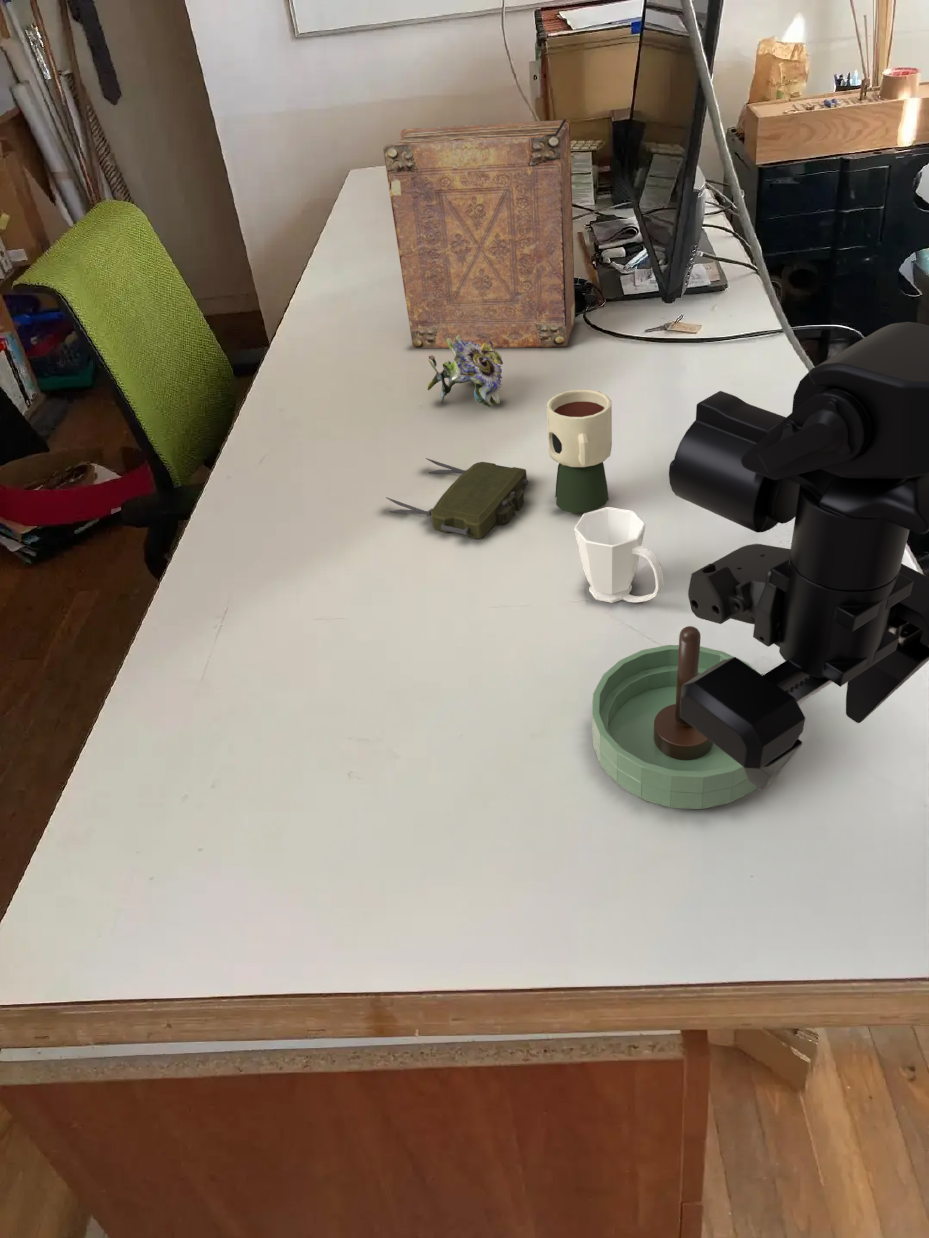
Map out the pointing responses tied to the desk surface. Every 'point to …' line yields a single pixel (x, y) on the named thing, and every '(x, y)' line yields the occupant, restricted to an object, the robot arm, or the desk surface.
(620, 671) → the bowl
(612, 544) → the cup
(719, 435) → the robot arm
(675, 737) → the knob-topped peg stand
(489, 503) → the landmine
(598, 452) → the character mug
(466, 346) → the passion flower
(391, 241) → the desk surface
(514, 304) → the book
